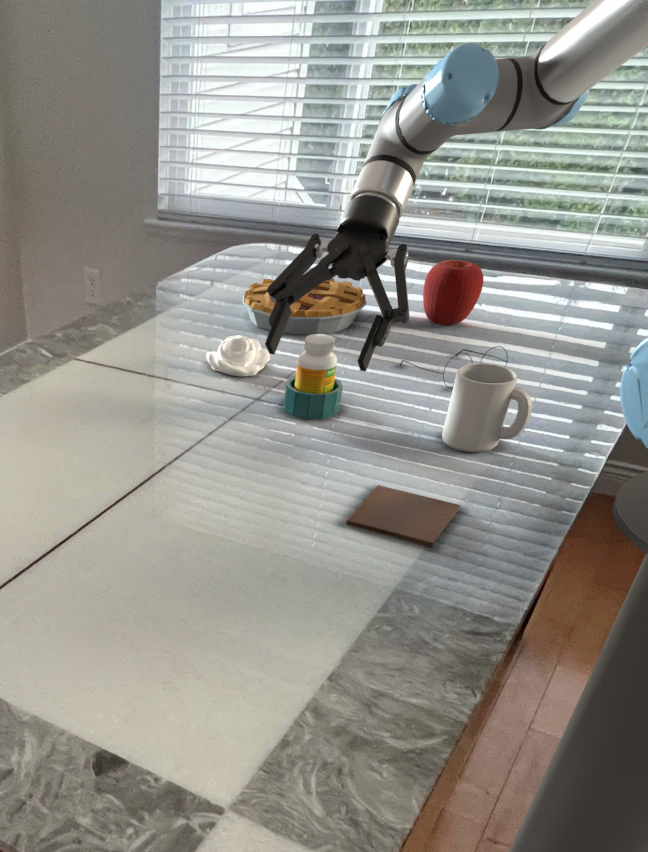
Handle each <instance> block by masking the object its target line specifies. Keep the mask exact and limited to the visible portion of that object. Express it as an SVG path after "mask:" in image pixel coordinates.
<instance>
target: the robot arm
mask: <svg viewBox="0 0 648 852" xmlns="http://www.w3.org/2000/svg"><path fill="white" fill-rule="evenodd" d="M647 47H648V0H592V2H591V3H590V4H589V5H588V6H586V7H585V8H584V9H583V10H582V11H581V12H579V13H578V15H576V16H575V17H574V18H573V19H571V20H570V22H568V23H567V24H566V25H565V26H564V27H563V28H561V29H560V30H559V31H557V33H556V34H555V35H553V36H552V37H551V38H550V39H549V40H548V41H546V42H545V43H544V44H542V46H540V47H539V48H538V49H537V50H536V51H535V52H533V53H532V54H530V55H527V56H520V57H519V56H518V57H506V58H505V57H504V58H495V56H494V54H493V53H492V52H491V51H490V49H489V48H485V47H483V46H481V45H480V44H479V43H477V42H466V43H463V44H459V45H458V46H456V47H454V48H453V49H452V50H450V51H449V52H448V53H447V54H446V55H445V56H444V57H443V58H442V59H440V60H438V61H437V63H436V64H434V65H433V66H432V67H431V69H430V70H429V71H428V72H427V74H426V75H425V76H424V77H423V78H422V79H421V80H420V81H419V83H411V84H409V85H408V86H406V87H404V86H402V87H400V88H399V89H397V90H396V91H395V93H394V94H393V95H392V96H391V98H390V100H389V101H388V104H387V105H386V108H385V109H384V110H383V112H382V115H381V116H380V120H379V123H378V127H377V128H376V129H377V130H376V132H375V134H374V137H373V140H372V142H371V145H370V147H369V149H368V153H367V154H366V157H365V160H364V162H363V165H362V167H361V170H360V172H359V174H358V177H357V180H356V182H355V184H354V186H353V189H352V191H351V194H350V195H349V201H348V202H347V204H346V206H345V208H344V211H343V214H342V216H341V219H340V221H339V224H338V227H337V229H336V233H335V235H334V236H333V237H332V238H331V239H330V240H328V239H323V238H321V237H320V235H319V233H313V234H311V236H310V238H309V240H308V241H307V244H306V246H305V248H303V250H301V251H300V252H299V254H298V255H297V256H296V257H295V258H294V259H293V260H292V261H291V262H290V263H289V264H288V266H286V267H285V268H284V270H283V271H281V272H280V274H279V275H278V276H277V277H276V278H275V279H273V280H274V281H273V282H272V284H271V285H270V286H269V287H268V288H267V292H268V294H269V297H270V299H271V301H272V302H273V303H275V305H274V308H273V310H272V313H271V315H270V318H269V324H270V326H271V330H269V333H268V335H267V338H266V340H265V342H264V346H265V347H266V350H267V351H268V352H269V354H270V355H275V354H276V352H277V349H278V346H279V344H280V341H281V339H282V337H283V334H284V333H283V332H284V329H285V327H286V324H287V322H288V319H289V317H290V314H291V312H292V311H291V308H290V305H292V304H293V303H295V302H296V301H297V300H299V299H300V298H302V297H303V296H304V295H306V294H307V293H309V292H310V291H311V290H313V289H314V288H316V287H317V286H318V285H320V284H321V283H323V282H324V281H329V280H330V279H332V278H335V277H336V276H337V277H338V279H344V280H345V279H351V280H353V281H356V282H357V281H358V282H360V281H361V280H363V279H367V281H368V284H369V286H370V288H371V291H372V293H373V296H374V298H375V301H376V304H377V306H378V309H379V310H380V314H375V317H374V318H373V322H372V324H371V327H370V329H369V331H368V334H367V336H366V339H365V341H364V343H363V346H362V349H361V351H360V354H359V356H358V359H357V363H358V368H359V371H361V372H367V370H368V367H369V364H370V362H371V360H372V358H373V355H374V353H375V350H376V348H377V347H379V348H380V347H381V348H382V347H383V346H384V345H385V343H386V341H387V338H388V337H389V334H390V332H391V329H392V327H393V325H395V324H397V323H402V324H407V323H408V322H410V319H411V318H410V317H411V316H410V307H409V298H408V297H409V296H408V286H407V275H406V270H407V267H408V263H409V259H410V256H409V251H408V250H409V249H408V246H407V244H406V243H401V244H399V245H398V247H395V248H394V247H393V248H390V245H391V243H392V240H393V238H394V236H395V233H396V231H397V228H398V227H399V224H400V218H401V217H402V216H403V214H404V211H405V208H406V206H407V204H408V202H409V199H410V197H411V194H412V192H413V189H414V186H415V184H416V182H417V179H418V177H419V175H420V172H421V170H422V167H423V165H424V163H425V161H427V159H428V158H429V157H430V156H431V155H432V154H433V153H434V152H436V151H437V150H439V148H440V147H442V146H443V145H444V144H445V143H446V142H448V140H450V139H451V138H452V137H456V136H465V135H475V134H486V133H495V132H496V133H497V132H509V131H524V130H525V131H526V130H546V129H548V128H551V127H556V126H561V125H565V124H567V123H569V122H571V121H572V120H573V119H574V118H575V117H577V115H578V114H579V112H580V109H581V108H582V106H584V105H585V104H586V101H587V99H588V97H589V94H590V90H591V89H592V88H594V86H596V85H597V84H598V83H600V82H601V81H602V80H604V79H605V78H607V77H608V76H609V75H611V74H612V73H613V72H615V71H616V70H617V69H619V68H620V67H621V66H623V65H624V64H625V63H627V62H628V61H629V60H631V59H632V58H634V57H635V56H636V55H638V53H641V52H642V51H643V50H644V49H646V48H647ZM324 253H327V254H326V255H325V256H323V254H324ZM320 258H321V259H320ZM317 259H320V260H319V261H318V264H316V265H314V264H315V262H316V261H317ZM388 260H389V262H390V266H391V267H392V268H394V278H395V279H394V280H395V286H396V287H395V288H396V289H395V291H396V299H397V307H395V308H393V306H392V305H391V302H390V300H389V297H388V295H387V292H386V289H385V286H384V284H383V283H382V280H381V277H380V275H379V272H378V269H379V267H382V265H383V264H385V263H386V262H387V261H388ZM313 265H314V267H312V266H313ZM330 265H331V266H330ZM329 266H330V268H329ZM311 267H312V268H311ZM310 268H311V269H310ZM629 358H630V361H631V362H630V363H628V364H626V365H625V366H624V369H623V372H622V375H621V380H620V387H619V388H620V389H619V396H620V397H619V399H620V405H621V411H622V415H623V418H624V421H625V424H626V425H627V427H628V429H629V431H630V432H631V434H632V435H633V437H634V438H635V439H636V440H637V441H639V442H641V443H643V444H644V446H645V448H646V449H647V450H648V336H647V337H646V338H644V339H643V340H641V342H640V343H639V344H638V345H637V346H636V347H635V348H634V350H633V351H632V353H631V354H630V356H629Z"/></svg>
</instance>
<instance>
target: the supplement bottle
mask: <svg viewBox="0 0 648 852" xmlns="http://www.w3.org/2000/svg"><path fill="white" fill-rule="evenodd" d="M304 339H305V340H304V345H303V346H304V347H303V348H304V351H303V352H301V353H300V354H299V356H298V358H297V363H296V364H297V365H296V371H295V372H296V373H295V376H296V379H295V388H294V389H296V390H298V391H301V392H306V393H326V392H331V391H333V386H334V379H336V371H337V367H338V366H337V364H338V357H337V356H336V355H335V353H334V352H333V351H334V349H335V341H336V339H335V337H334V336H332V335H329V334H308V335H307V336H306V337H305V338H304Z"/></svg>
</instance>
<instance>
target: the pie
mask: <svg viewBox="0 0 648 852" xmlns="http://www.w3.org/2000/svg"><path fill="white" fill-rule="evenodd" d="M334 278H335V277H333V278H332V279H330V280H329V281H324V282H323V283H321V284H320V285H318V286H317V287H316V288H314V289H313V290H311V291H310V292H309V293H307V294H306V295H304V296H303V297H302V298H300V299H299V300H297V301H296V302H295V303H293V304H292V305H290V308H291V311H292V312H291V314H290V317H289V319H288V322H287V324H286V327H285V329H284V332H283V334H290V335H312V334H325V335H327V334H334V333H338V332H341V331H343V330H345V329H347V328H349V326H350V325H351V324H352V323H354V321H355V320H356V318H357V317H358V315H359V313H360V312H361V310H363V308H364V307H365V306H366V305H367V301H366V300H367V299H366V294H365V293H364V292H363V288H361V287H359V286H353V283H352V282H351V281H347V280H344V281H341V282H340V281H335V279H334ZM274 280H275V279H270V278H264V279H262V280H261V282H260V284H259V283H258V282H253V283H251V284H250V285H249V288H248V289H247V290H245V292H244V294H243V295H242V305H243V306H244V307H245V309H246V311H247V314H248V317H249V320H250V321H251V322H252V324H254V325H255V326H256V328H260V329H263V330H267V331H270V330H271V326H270V324H269V318H270V315H271V313H272V310H273V308H274V305H275V303H273V302H272V301H271V299H270V297H269V294H268V292H267V288H268V287H269V286H270V285H271V284H272V282H273V281H274Z"/></svg>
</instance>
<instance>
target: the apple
mask: <svg viewBox="0 0 648 852" xmlns="http://www.w3.org/2000/svg"><path fill="white" fill-rule="evenodd" d="M483 287H484V274H483V271H482V269H481V268H480V266H479V265H478V264H477V263H474V262H471V261H467V260H460V259H459V260H458V259H454V258H453V259H448V260H441V261H439V262H437V263H436V264H434V265H433V266H431V268H430V269H429V271H428V272H427V274H426V277H425V280H424V284H423V292H422V295H423V296H422V300H423V301H422V302H423V311H424V314H425V316H426V318H427V319H428V321H429V322H431V323H432V324H434V325H435V324H436V325H441V326H453V325H458V324H460V323H462V321H465V319H466V318H467V317H468V316H469V315H470V314H471V312H472V311H473V309H474V308H475V306H476V304H477V303H478V301H479V299H480V296H481V293H482V290H483Z"/></svg>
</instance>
